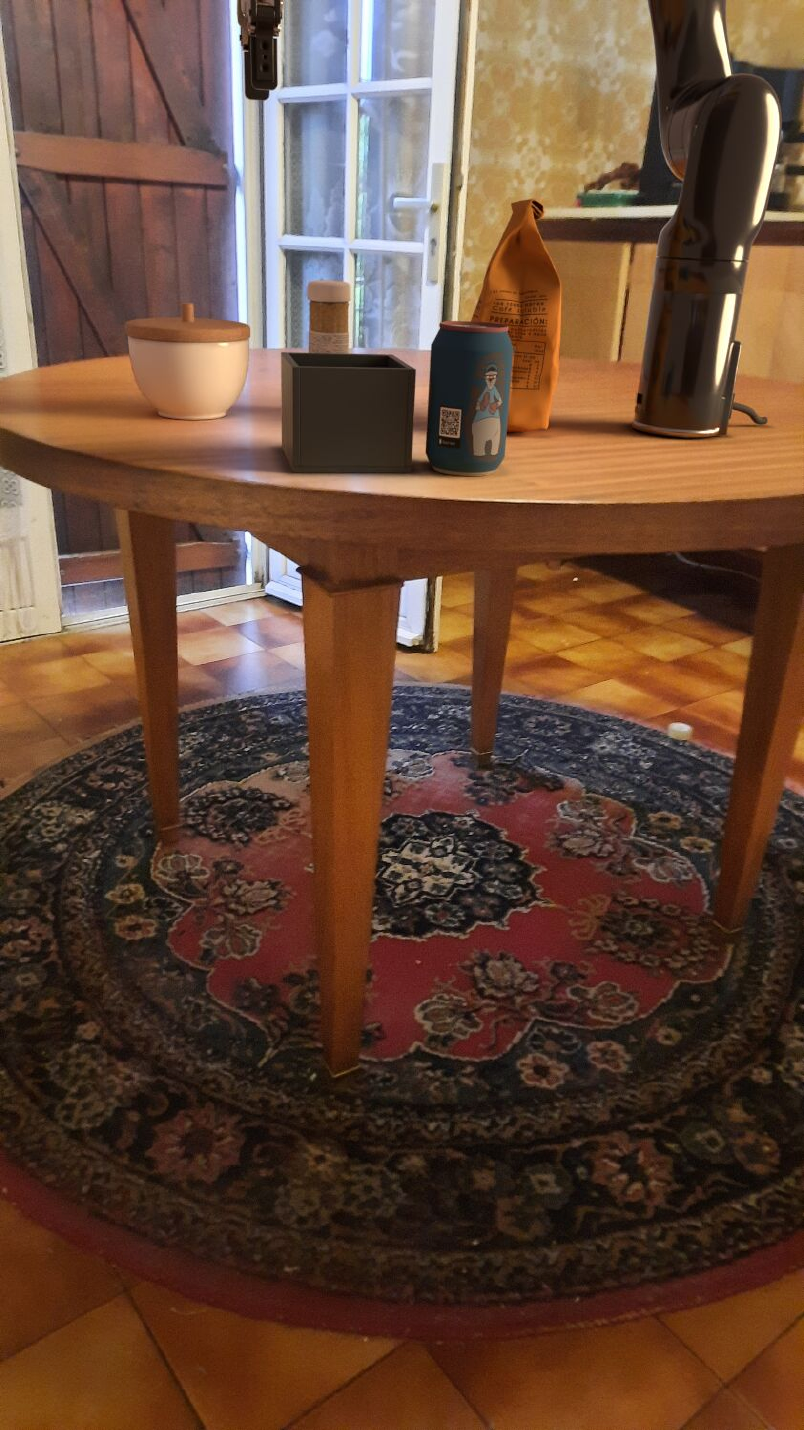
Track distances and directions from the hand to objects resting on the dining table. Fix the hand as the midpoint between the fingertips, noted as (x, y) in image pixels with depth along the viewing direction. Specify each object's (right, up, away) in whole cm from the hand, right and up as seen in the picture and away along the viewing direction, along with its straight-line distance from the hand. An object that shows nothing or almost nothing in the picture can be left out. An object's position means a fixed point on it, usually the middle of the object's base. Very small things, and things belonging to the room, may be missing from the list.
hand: (260, 95), depth 91 cm
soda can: (+18, -34, -1) cm, 38 cm away
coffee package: (+24, -24, +19) cm, 39 cm away
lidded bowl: (-10, -23, +18) cm, 31 cm away
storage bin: (+7, -32, 0) cm, 33 cm away
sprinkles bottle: (+4, -21, +24) cm, 32 cm away
